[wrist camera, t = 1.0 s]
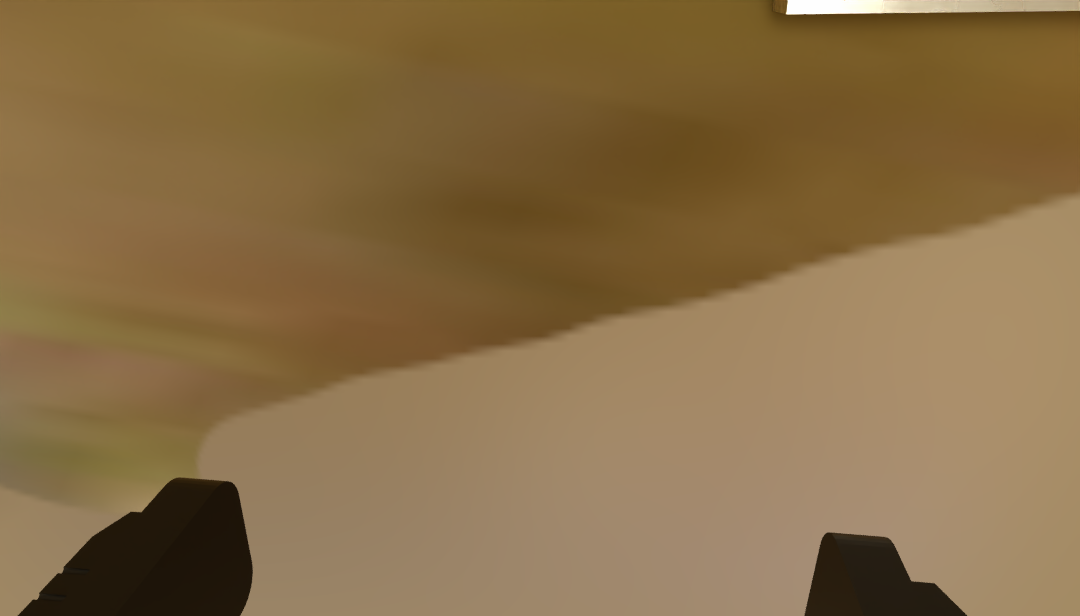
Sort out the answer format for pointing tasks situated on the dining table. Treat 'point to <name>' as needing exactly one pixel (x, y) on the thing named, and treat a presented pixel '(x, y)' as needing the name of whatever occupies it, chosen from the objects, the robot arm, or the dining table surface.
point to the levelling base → (919, 6)
